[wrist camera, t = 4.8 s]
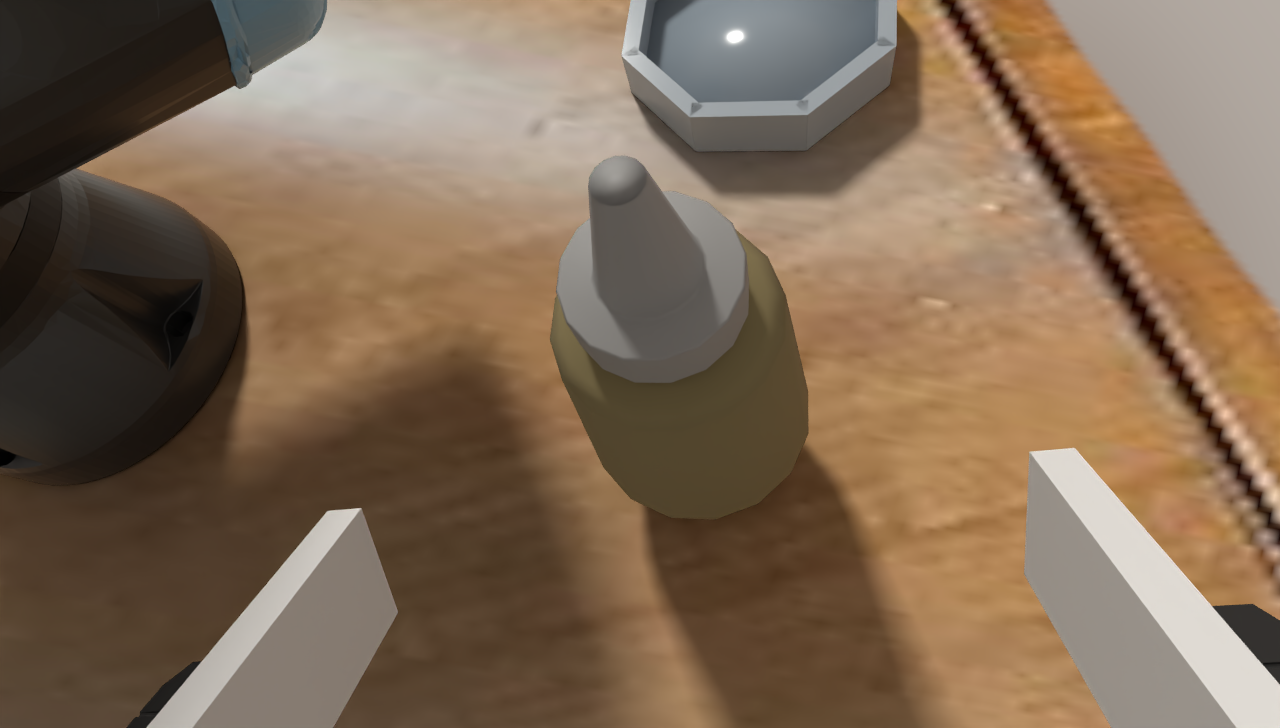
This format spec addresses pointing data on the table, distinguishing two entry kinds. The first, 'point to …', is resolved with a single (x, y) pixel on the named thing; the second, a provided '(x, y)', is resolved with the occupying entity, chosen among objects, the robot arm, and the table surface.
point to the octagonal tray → (758, 67)
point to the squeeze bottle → (677, 349)
